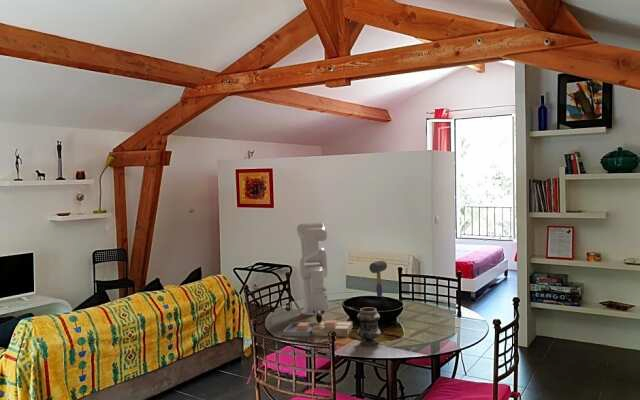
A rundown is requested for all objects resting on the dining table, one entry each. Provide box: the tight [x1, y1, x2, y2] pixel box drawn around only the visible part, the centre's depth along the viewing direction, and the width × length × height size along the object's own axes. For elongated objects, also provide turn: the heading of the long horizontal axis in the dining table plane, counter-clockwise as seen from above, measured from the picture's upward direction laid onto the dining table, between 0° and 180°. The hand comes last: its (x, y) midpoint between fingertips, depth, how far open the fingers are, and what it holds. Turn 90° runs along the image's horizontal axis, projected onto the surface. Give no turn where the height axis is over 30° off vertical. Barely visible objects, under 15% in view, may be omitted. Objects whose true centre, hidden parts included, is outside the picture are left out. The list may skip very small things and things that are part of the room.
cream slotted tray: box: [311, 320, 354, 337], centre depth 287 cm, size 15×20×4 cm
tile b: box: [324, 319, 338, 328], centre depth 283 cm, size 6×6×3 cm
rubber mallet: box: [368, 260, 388, 298], centre depth 341 cm, size 12×8×30 cm, turn 141°
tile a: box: [297, 323, 310, 331], centre depth 294 cm, size 6×6×3 cm
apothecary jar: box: [356, 306, 382, 347], centre depth 263 cm, size 12×12×18 cm
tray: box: [282, 321, 317, 338], centre depth 291 cm, size 19×16×2 cm
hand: (319, 321), depth 292 cm, fingers closed
